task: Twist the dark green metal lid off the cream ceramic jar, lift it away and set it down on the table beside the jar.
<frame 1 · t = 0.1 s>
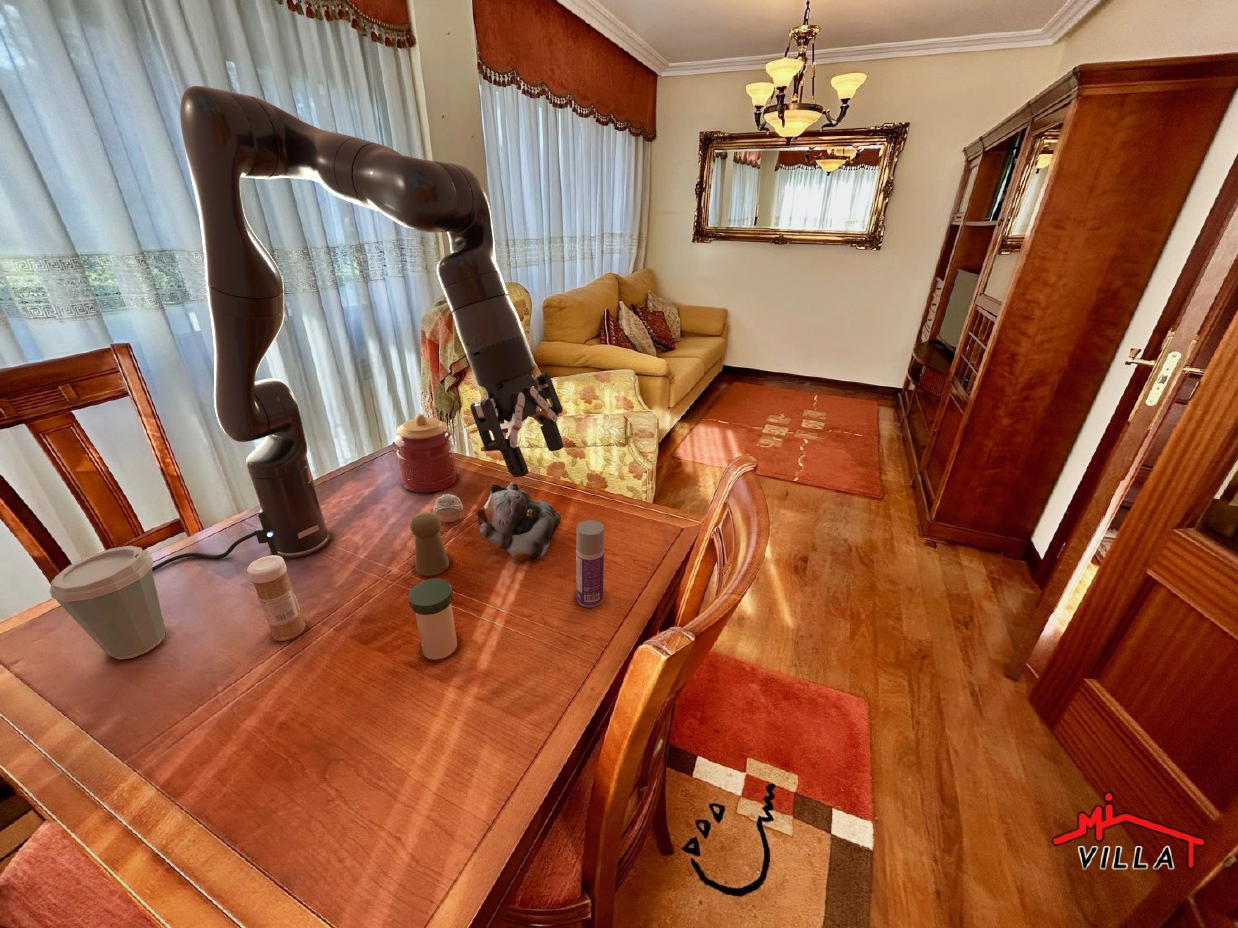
hand: (539, 462, 66), 31 cm above the table, tool tilted 20°, fingers open, 8 cm apart
lucky cat figurine: (521, 545, 102), on the table
container: (589, 599, 88), on the table
kitchen canister: (430, 481, 125), on the table
disposable coffee cup: (140, 643, 76), on the table
lid: (430, 593, 73), point 10 cm above the table, screwed on, not yet turned
sprinkles bottle: (289, 632, 79), on the table
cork: (432, 566, 95), on the table
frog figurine: (450, 522, 109), on the table
jar: (440, 646, 78), on the table
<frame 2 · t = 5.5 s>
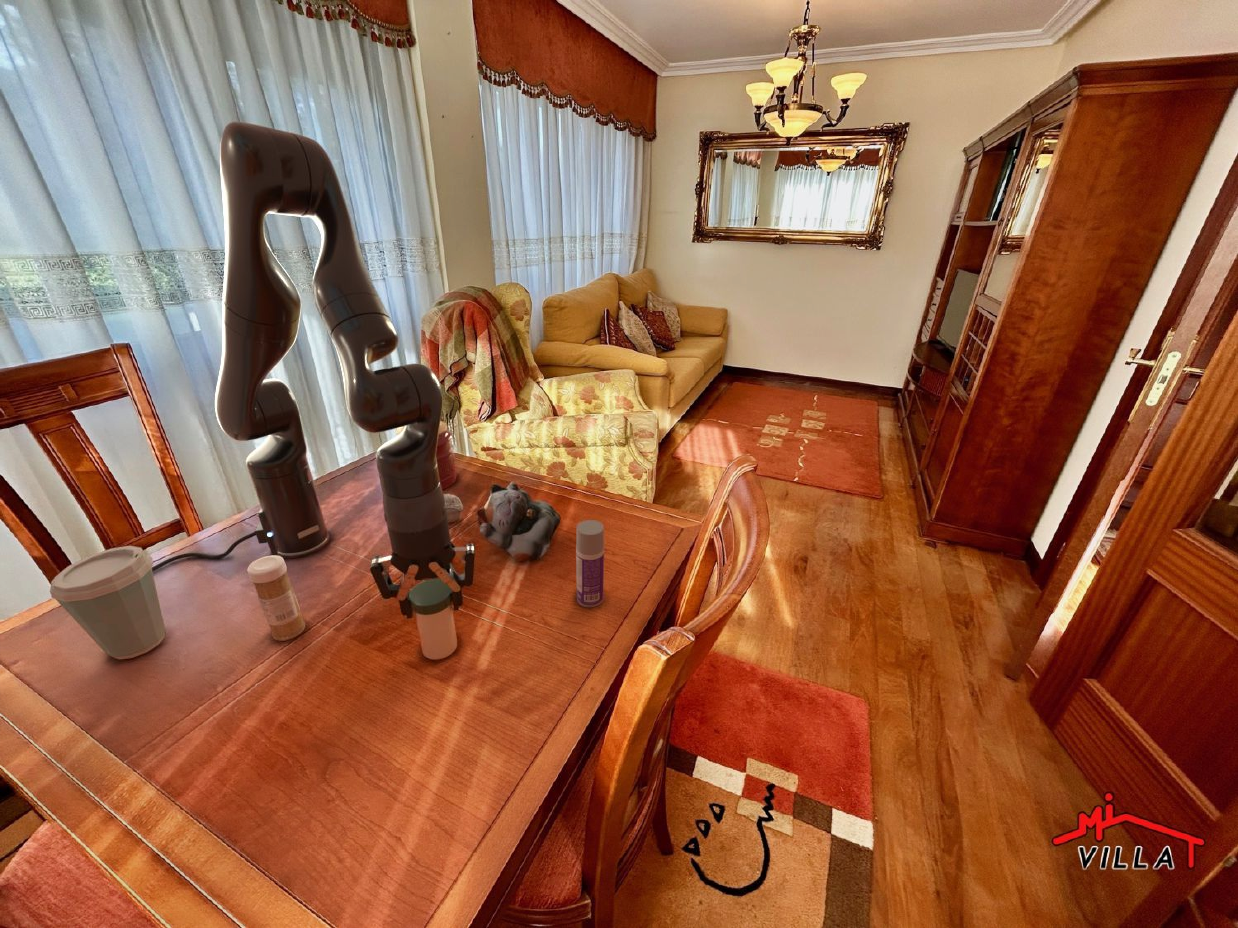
hand: (433, 610, 74), 7 cm above the table, tool pointing down, fingers closed on lid, 6 cm apart
lid: (430, 593, 73), point 10 cm above the table, screwed on, not yet turned, touching gripper
everything else where it was.
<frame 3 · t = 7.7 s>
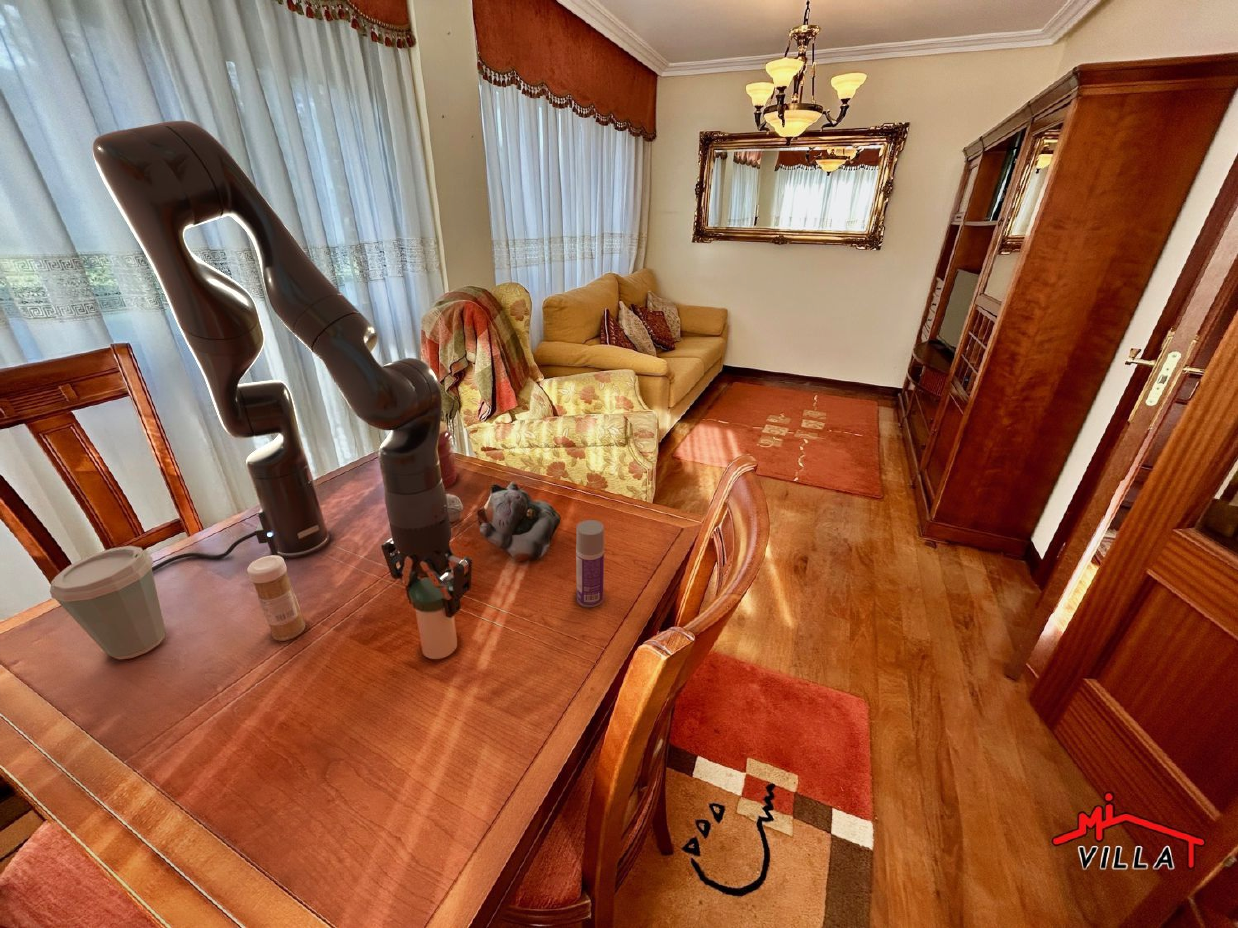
hand: (434, 607, 74), 8 cm above the table, tool pointing down, fingers closed on lid, 6 cm apart
lid: (431, 590, 73), point 11 cm above the table, turned 143° so far, risen 0.4 cm, still on its thread, touching gripper
everything else where it was.
when the fingers open (2 cm above the table, at t = 16.0 s): lid drops 3 cm, point 1 cm above the table.
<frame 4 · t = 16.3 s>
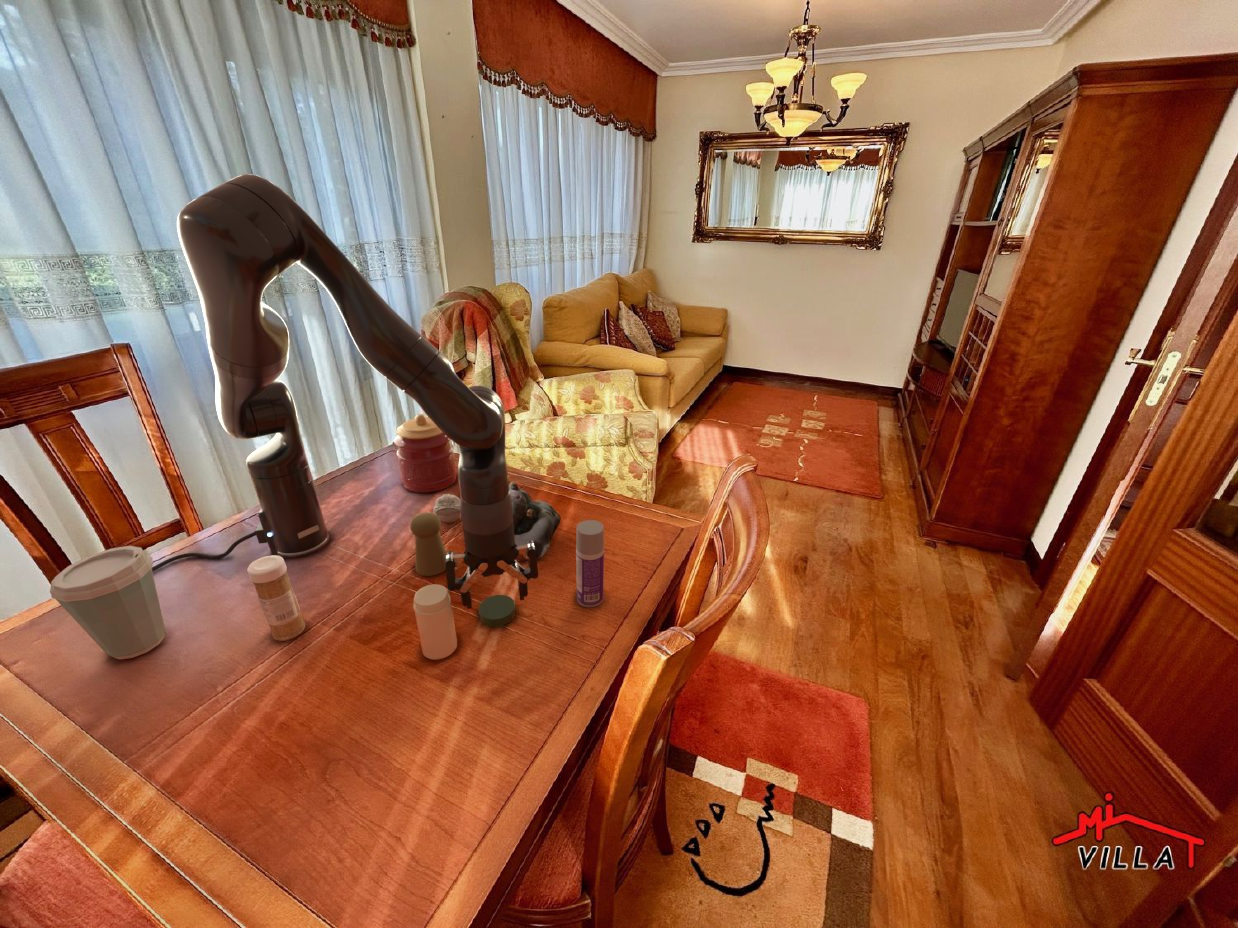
hand: (496, 601, 83), 3 cm above the table, tool pointing down, fingers open, 8 cm apart
lid: (497, 608, 83), point 1 cm above the table, off its thread
everything else where it was.
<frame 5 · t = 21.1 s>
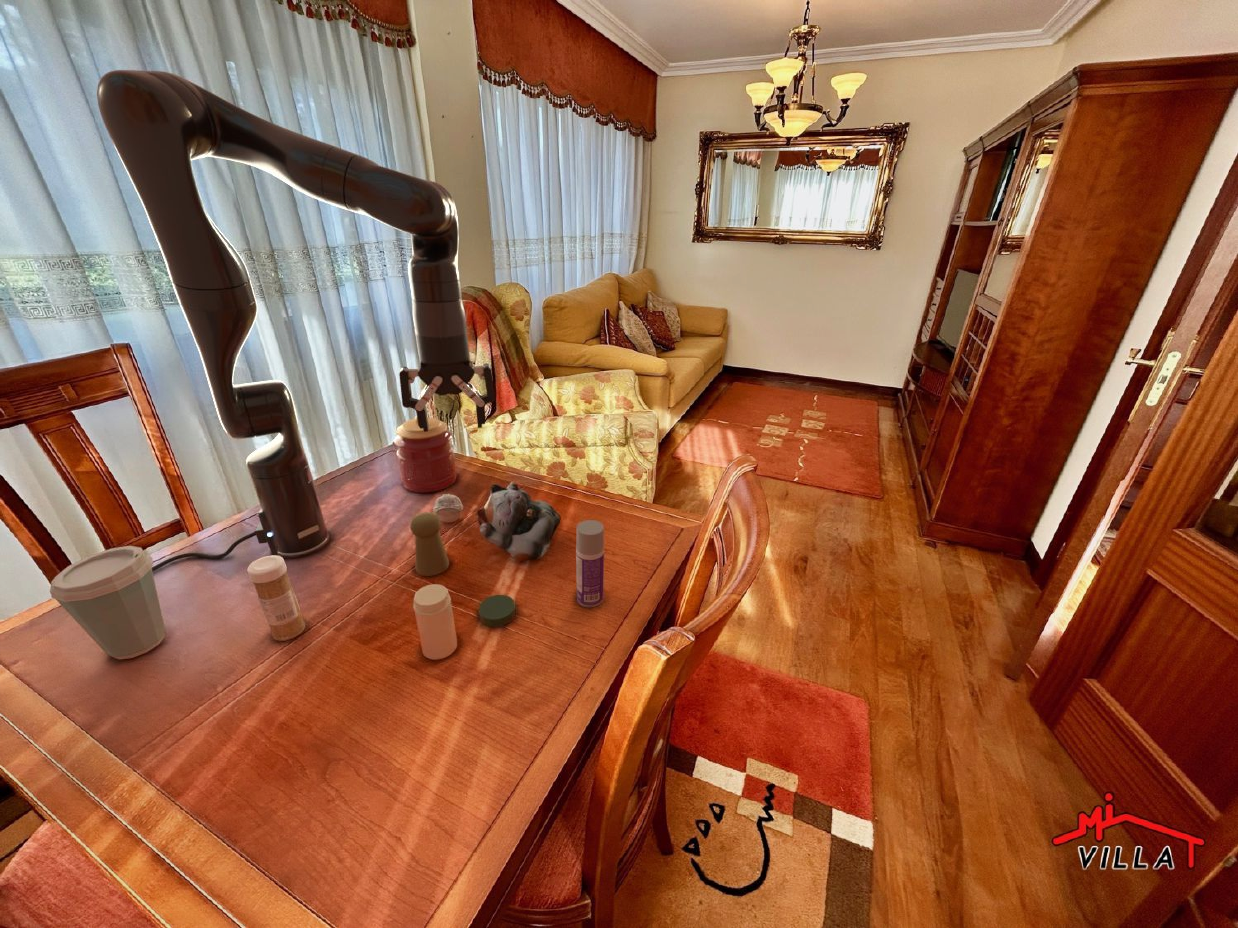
hand: (453, 428, 83), 28 cm above the table, tool pointing down, fingers open, 8 cm apart
nothing on the table moved.
at the end: lid inside the target area (0.1 cm from its centre), point 1.3 cm above the table; the gripper is holding nothing; jar tilted 0° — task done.
